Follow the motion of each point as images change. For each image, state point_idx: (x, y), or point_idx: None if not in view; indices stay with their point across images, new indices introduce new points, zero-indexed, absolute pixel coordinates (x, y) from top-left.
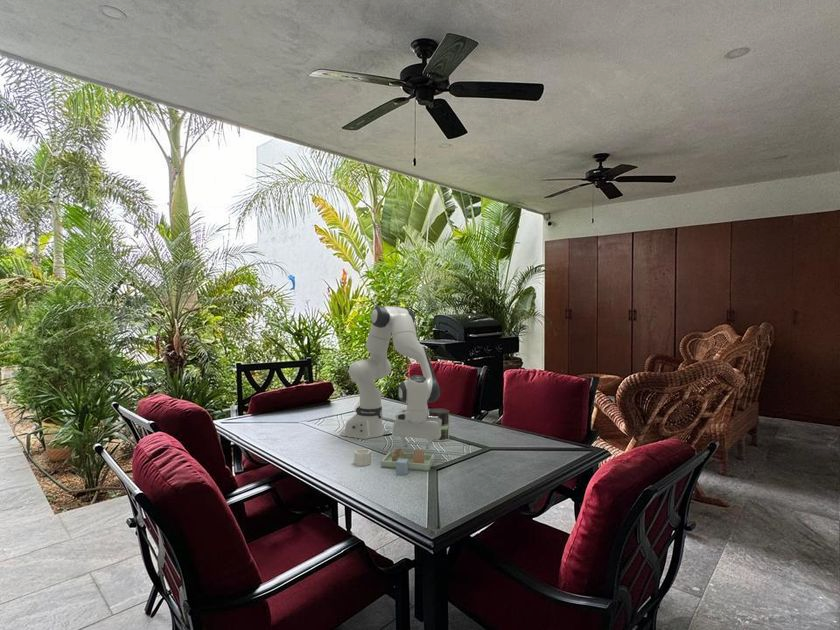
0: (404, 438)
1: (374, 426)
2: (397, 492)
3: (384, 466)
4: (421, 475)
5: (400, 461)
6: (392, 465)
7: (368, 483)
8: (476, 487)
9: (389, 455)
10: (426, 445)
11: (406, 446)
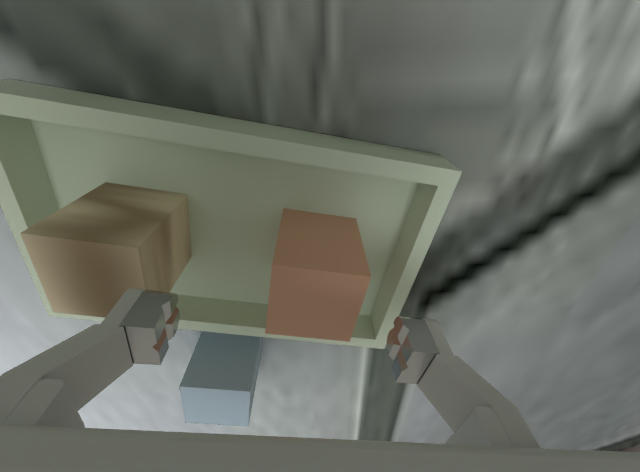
0: (62, 364)
1: None
2: None
3: None
4: (334, 356)
5: (207, 415)
6: None
7: (124, 417)
8: (535, 420)
9: (14, 143)
10: (405, 379)
11: (172, 330)
